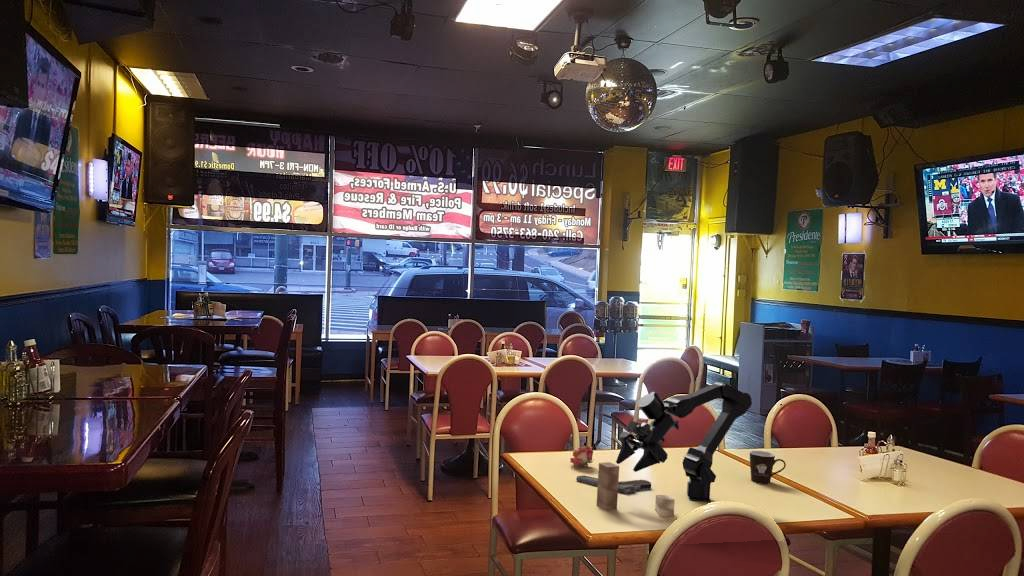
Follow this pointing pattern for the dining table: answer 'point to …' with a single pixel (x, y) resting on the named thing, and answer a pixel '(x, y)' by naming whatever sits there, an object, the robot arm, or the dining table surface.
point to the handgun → (619, 484)
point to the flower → (582, 456)
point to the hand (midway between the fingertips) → (625, 466)
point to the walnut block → (607, 486)
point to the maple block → (664, 505)
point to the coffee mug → (762, 466)
